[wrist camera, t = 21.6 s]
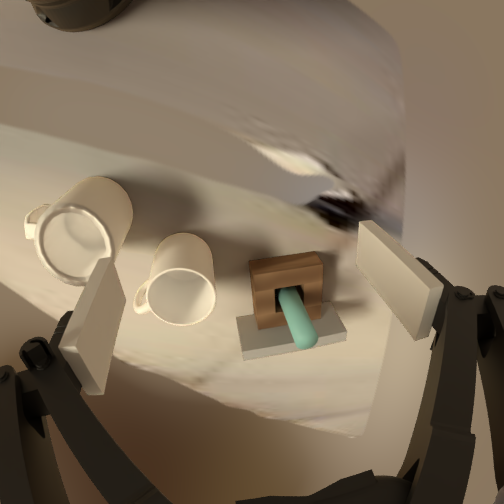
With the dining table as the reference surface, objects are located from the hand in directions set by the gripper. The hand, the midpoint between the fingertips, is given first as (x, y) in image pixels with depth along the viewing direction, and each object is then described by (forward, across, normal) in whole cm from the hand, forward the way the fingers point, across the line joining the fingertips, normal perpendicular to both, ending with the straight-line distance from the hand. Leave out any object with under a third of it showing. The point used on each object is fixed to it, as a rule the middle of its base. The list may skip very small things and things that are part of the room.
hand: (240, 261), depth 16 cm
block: (+27, +8, -20) cm, 35 cm away
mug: (+27, -18, -4) cm, 33 cm away
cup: (+27, -8, -14) cm, 31 cm away
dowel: (+27, +8, -20) cm, 35 cm away
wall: (+27, +8, -26) cm, 38 cm away
